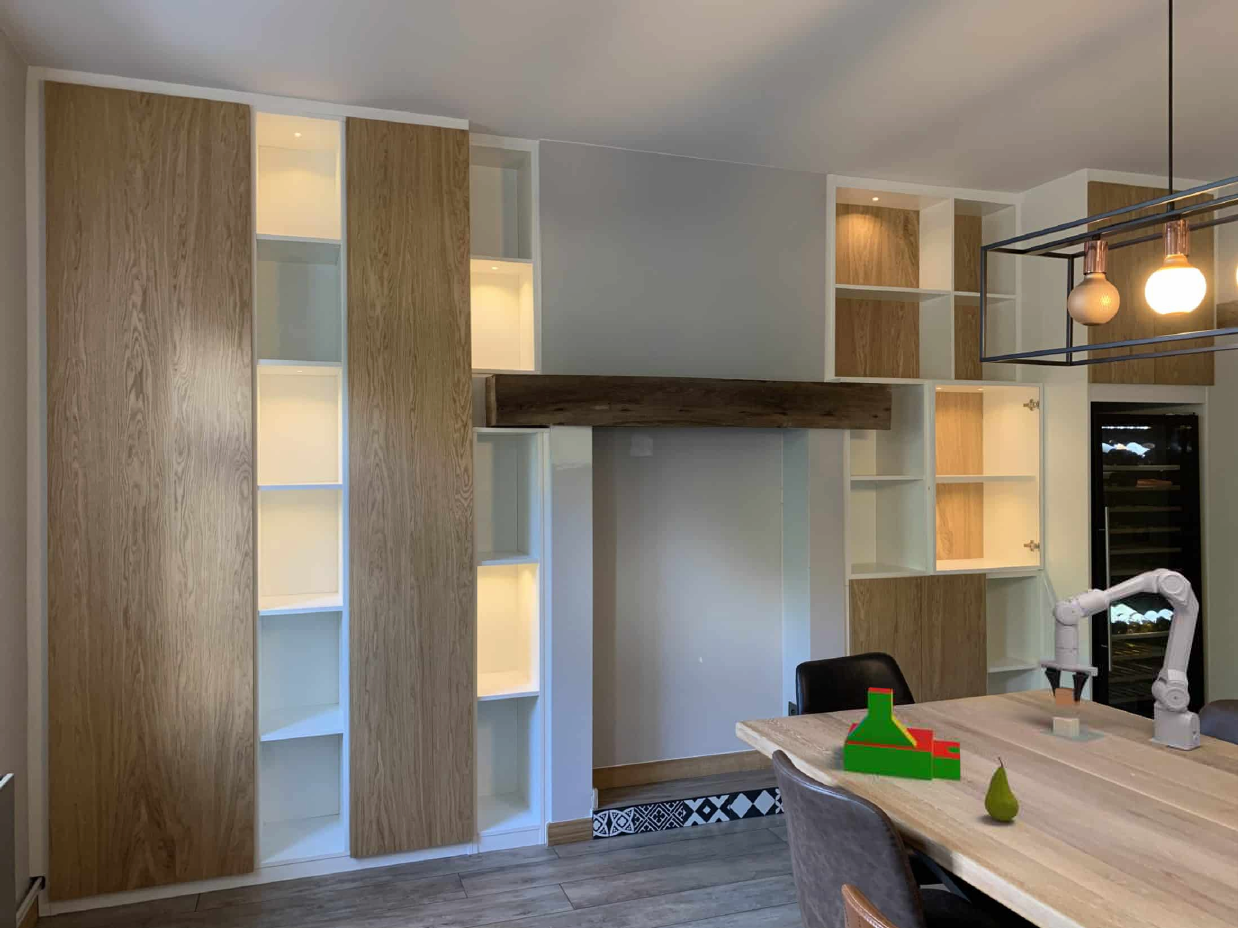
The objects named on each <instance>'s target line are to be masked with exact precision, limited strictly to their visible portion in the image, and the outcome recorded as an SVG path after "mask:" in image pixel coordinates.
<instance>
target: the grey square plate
mask: <svg viewBox="0 0 1238 928" xmlns="http://www.w3.org/2000/svg"><path fill="white" fill-rule="evenodd" d="M1037 733H1038V734H1043V735H1047V736H1051V737H1057V738H1060V739H1064V740H1067V741H1072V742H1078V743H1081V744H1085V743H1089V742H1091V741H1094V740H1098V739H1100V738H1105V737H1107V734H1101V733H1097V732H1093V731H1089V730H1083V729H1080V728H1079V734H1078V735H1075V736H1072V737H1068V736H1064V735H1060V734H1056V733H1053V727H1051V728H1048V729H1044V730H1041V731H1038V732H1037Z"/></svg>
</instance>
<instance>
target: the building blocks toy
mask: <svg viewBox="0 0 1238 928" xmlns="http://www.w3.org/2000/svg"><path fill="white" fill-rule="evenodd" d="M893 691H894V690H893V689H892V688H881V687H869V688H868V691H867V714H866V715H865V716H864V717H863V718H862V719H861V721H859V723H858V722H852V723H851V724H850V728H849V730H848V733H847V735H846V737H845V740H844V741H843V742H844V743H843V771H844V772H851V773H858V774H859V773H860V774H861V773H862V774H869V775H879V776H887V777H895V778H896V777H897V778H903V779H904V778H905V779H915V780H924V781H931V782H932V781H933V778H934V779H943V780H952V781H961V779H962V778H961V776H962V775H961V772H962V771H961V770H962V769H961V746H960V745H961V743H960V741H952V740H951V741H950V740H940V739H939V740H938V739H934V730H933V729H924V728H923V729H921V728H912V727H907V728H905V726H904V725H903V724H902V723H901V722H900V721H899V720H898V719H897V717H896V716H895V715H894V710H893V709H894V703H893V701H894V700H893V699H894V697H893V694H894V693H893Z"/></svg>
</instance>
